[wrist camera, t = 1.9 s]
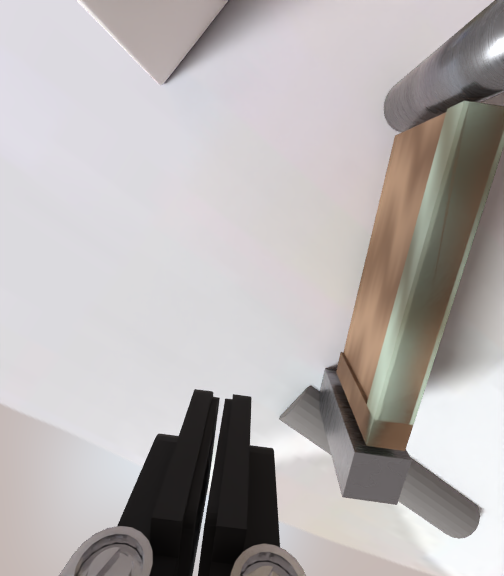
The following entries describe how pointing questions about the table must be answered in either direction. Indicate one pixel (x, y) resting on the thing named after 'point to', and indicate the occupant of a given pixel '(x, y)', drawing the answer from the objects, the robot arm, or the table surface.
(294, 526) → the table surface
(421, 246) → the wooden board
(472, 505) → the half round rod
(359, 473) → the gate posts
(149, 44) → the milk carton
